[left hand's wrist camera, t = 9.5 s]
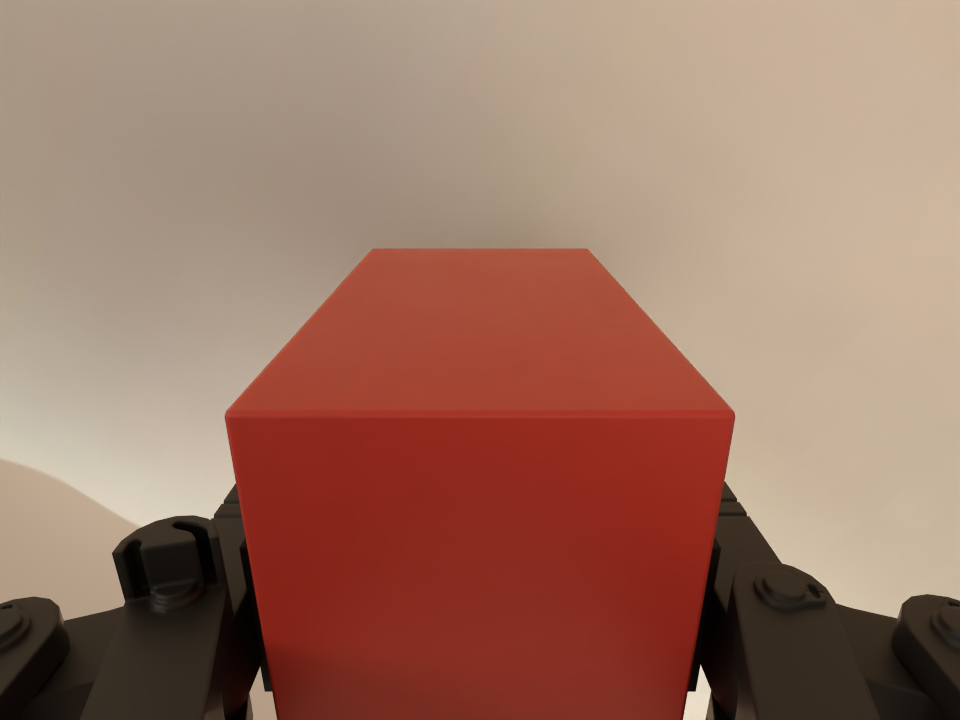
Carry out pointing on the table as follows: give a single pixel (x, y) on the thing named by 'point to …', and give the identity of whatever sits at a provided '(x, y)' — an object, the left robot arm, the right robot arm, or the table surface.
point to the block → (479, 495)
